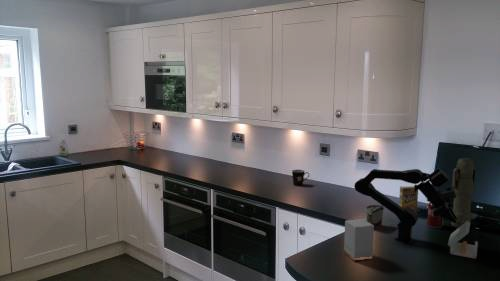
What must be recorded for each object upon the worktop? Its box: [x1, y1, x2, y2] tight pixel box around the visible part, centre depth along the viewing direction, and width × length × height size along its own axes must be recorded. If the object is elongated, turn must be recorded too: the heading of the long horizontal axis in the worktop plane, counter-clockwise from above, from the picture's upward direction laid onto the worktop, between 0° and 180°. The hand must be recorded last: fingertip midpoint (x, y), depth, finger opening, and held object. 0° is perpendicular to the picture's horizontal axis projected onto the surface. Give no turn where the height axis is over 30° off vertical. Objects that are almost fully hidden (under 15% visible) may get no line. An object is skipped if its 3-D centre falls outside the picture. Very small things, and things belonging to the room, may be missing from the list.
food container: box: [364, 204, 385, 229], centre depth 219 cm, size 12×6×10 cm, turn 134°
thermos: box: [450, 157, 477, 229], centre depth 218 cm, size 9×12×35 cm
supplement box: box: [343, 218, 375, 258], centre depth 182 cm, size 9×9×15 cm
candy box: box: [398, 186, 419, 215], centre depth 237 cm, size 9×4×15 cm, turn 92°
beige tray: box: [449, 240, 479, 260], centre depth 189 cm, size 10×13×3 cm
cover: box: [447, 221, 471, 248], centre depth 189 cm, size 10×14×2 cm
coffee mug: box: [291, 169, 310, 187], centre depth 299 cm, size 12×9×10 cm
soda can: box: [426, 201, 444, 229], centre depth 219 cm, size 7×7×12 cm
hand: (456, 221), depth 189 cm, fingers open, 4 cm apart
